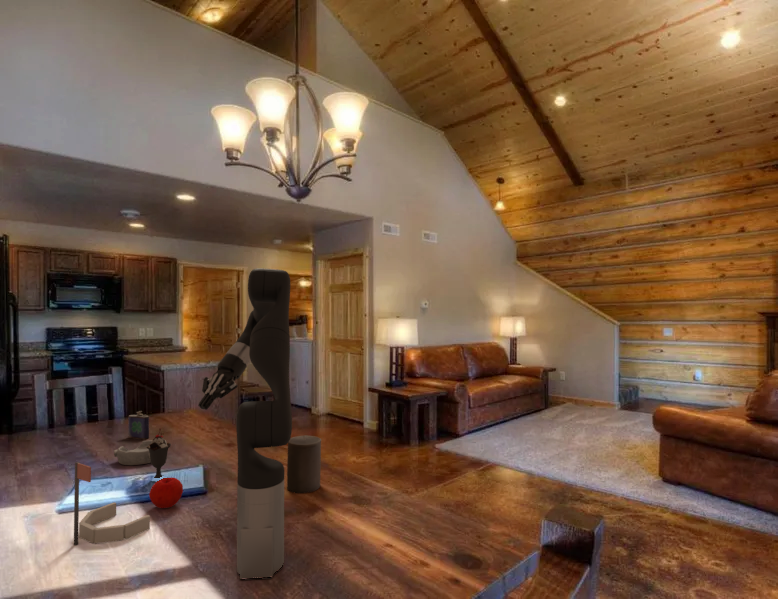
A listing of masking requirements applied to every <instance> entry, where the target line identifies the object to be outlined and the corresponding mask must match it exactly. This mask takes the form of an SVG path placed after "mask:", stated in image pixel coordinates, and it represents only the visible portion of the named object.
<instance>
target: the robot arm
mask: <svg viewBox="0 0 778 599" xmlns="http://www.w3.org/2000/svg"><path fill="white" fill-rule="evenodd" d="M247 279H248V281H247V296H248V299H249V301H250V303H251V306H252V308H253V309H252V311H251V312H250V313H249V316H248V319H247V322H246V325H245V327H244V329H243V331H242V333H241V334H240V336H239V337H238V339H237V340H236V341H235V343H234V344H233V345H232V346H231V347H230V348H229V349H228V350H227V352H226V353H225V354H224V356H222V358H221V360H220V361H219V363H218V364H217V370H216V372H214V373H213V375H212V376H211V377H209V378H208V376H205V377H203V381H202V382H203V383H202V390H201V391H202V393H203V394H204V396H203V397H202V398H201V400H200V401H199V402H198V407H199V408H200V409H202V410H208V408H210V407H211V406H212V404H213V403H214V401H215V400H217V399H223V398H224V397H225V396H227V395H228V394H230V393H231V392H232V391H234V390H236V388H238V384H237V383H236V380H238V379H240V378H241V376H242V375H243V374H244V372H245V370H246V369H247V368H248V366H249V364H250V363H251V364H252V365H253V367H254V368H255V370H256V371H257V373H258V374H259V375H260V376H261V377H262V378H263V379H264V381H265V382H266V383H267V385H268V386H269V388H270V390H271V392H272V395H273V398H274V400H254V401H244V402H242V403H241V404H240V405H239V406H238V408H237V413H236V421H235V422H236V424H235V425H236V426H235V427H236V446H237V447H236V448H237V478H236V480H237V482H236V485H237V487H236V488H237V491H236V492H237V494H236V496H237V498H236V501H237V502H236V504H237V505H236V571H237V574H238V573H239V574H240V575H239V574H238V575H239V579H242V578H253V577H254V578H255V577H256V578H257V577H258V578H259V577H270V576H273V577H274V575H275V574H276V573H277V572H276V571H277V570H279V569H280V568H281V567H282V565H283V566H284V564H285V466H284V464H283V463H282V462H281V461H280V460H277V459H274V458H270V457H267V456H265V455H263V454H261V453H259V452H258V451H256V449H261V448H272V447H273V448H274V447H275V448H276V447H282V446H286V445H288V442H289V440H290V438H292V432H293V416H292V415H293V414H292V402H291V401H292V400H291V388H290V359H291V358H290V357H291V340H290V339H291V337H290V323H289V322H290V302H291V300H290V299H291V287H292V286H291V278H290V274H289V273H288V271H286V270H284V269H283V270H282V269H275V268H264V267H263V268H262V267H261V268H253V269H252V270H250V272H249V275H248V278H247ZM283 563H284V564H283ZM282 568H283V567H282ZM282 568H281V569H282ZM281 569H280V570H281ZM280 570H279V571H280ZM275 572H276V573H275ZM274 573H275V574H274ZM273 574H274V575H273Z"/></svg>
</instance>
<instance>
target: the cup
mask: <svg viewBox="0 0 778 599" xmlns="http://www.w3.org/2000/svg"><path fill="white" fill-rule="evenodd" d="M91 474H92V467H91V466H89V465H86V464H83V463H80V461H76V462H74V497H73V498H74V500H73V501H74V503H73V505H74V507H73V508H74V510H73V518H74V519H73V546H77V545H79V538H80V539H83V540H85V541H87V542H89V543H91V544H95V545H96V544H103V543H112V542H118V541H119V542H120V541H124V540H128V539H130V538H132V537H134V536H136V535H139V534H141V533H143V532H145V531H148V530H150V528H151V515H149V514H147V515H144V516H142V517H140V518H136V519H134V520H132V521H130V522H127V523H125V524H118V525H111V526H101V527H96V526H94V525H95V524H97V523H100V522H103V521H105V520H108V519H110V518H113V517H116V516H117V502H111V503H109V504H106V505H103V506H101V507H98V508H95V509H92V510H90V511H89V512H87V513H86V514H85V516H84V517H83V518H82V519H81V520H80V521H79V514H80V513H79V512H80V510H79V508H80V507H79V506H80V503H79V502H80V501H79V500H80V480H82V481H84V482H87V483H92V475H91Z"/></svg>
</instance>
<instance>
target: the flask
mask: <svg viewBox="0 0 778 599" xmlns="http://www.w3.org/2000/svg"><path fill="white" fill-rule="evenodd" d="M142 412H143V411H142V410H139V411H136V414H130V415H128V426H127V427H128V430H127V433H128V434H127V435H128V436H127V437H128V438H129V439H135V440H136V439H137V440H150V416H149V415H147V414H143V413H142Z"/></svg>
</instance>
